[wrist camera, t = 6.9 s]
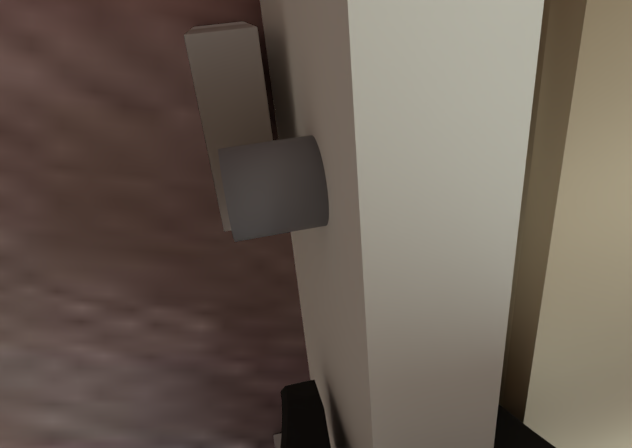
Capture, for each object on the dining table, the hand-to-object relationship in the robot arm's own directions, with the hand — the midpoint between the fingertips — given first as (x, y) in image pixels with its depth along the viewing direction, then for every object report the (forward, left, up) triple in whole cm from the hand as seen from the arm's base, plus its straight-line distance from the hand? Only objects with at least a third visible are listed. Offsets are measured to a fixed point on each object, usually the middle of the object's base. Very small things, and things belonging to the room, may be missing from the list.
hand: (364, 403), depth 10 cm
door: (0, 0, -4) cm, 4 cm away
